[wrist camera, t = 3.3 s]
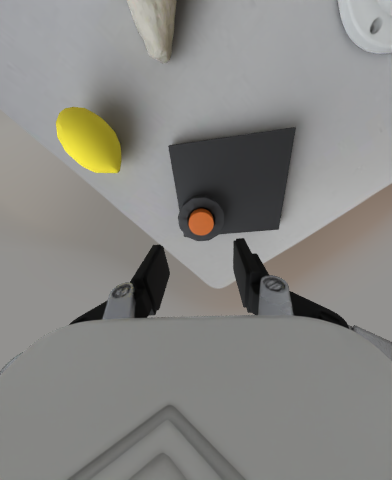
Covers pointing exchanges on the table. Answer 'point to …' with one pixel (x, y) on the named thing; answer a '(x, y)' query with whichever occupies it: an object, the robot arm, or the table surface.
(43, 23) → the table surface
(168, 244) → the table surface
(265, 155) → the scale
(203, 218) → the button
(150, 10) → the cream lumpy piece
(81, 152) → the lemon
